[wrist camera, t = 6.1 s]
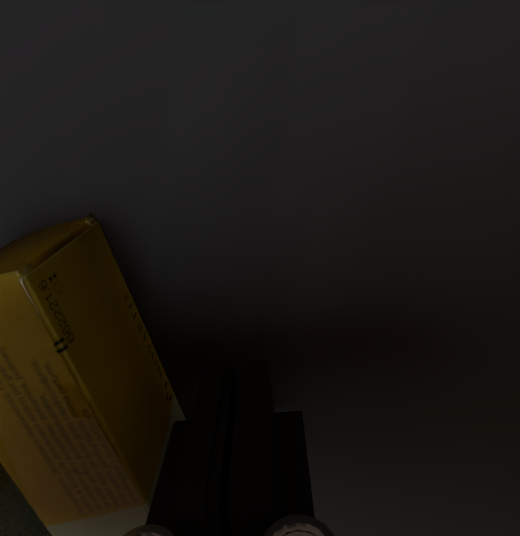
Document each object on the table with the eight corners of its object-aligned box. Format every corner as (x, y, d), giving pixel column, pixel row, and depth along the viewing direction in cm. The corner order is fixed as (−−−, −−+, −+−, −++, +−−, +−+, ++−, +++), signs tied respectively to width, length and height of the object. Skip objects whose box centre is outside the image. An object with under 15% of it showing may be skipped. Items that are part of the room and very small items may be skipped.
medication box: (238, 519, 15) (233, 661, 11) (168, 534, 15) (140, 677, 11) (101, 208, 10) (12, 269, 6) (5, 236, 10) (-134, 311, 7)
